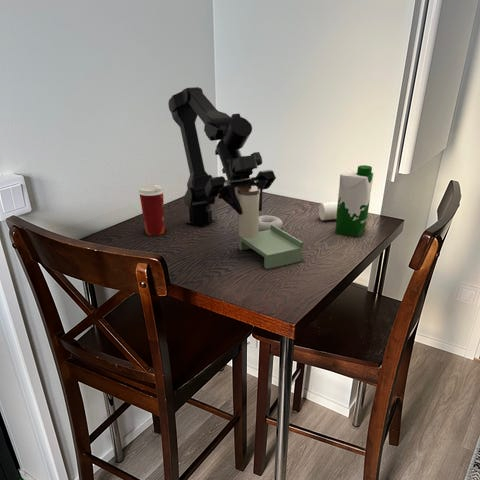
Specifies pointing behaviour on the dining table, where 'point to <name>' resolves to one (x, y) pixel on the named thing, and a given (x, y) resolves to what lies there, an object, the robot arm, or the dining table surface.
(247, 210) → the canister
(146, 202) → the paper cup
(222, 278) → the dining table surface
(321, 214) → the roll
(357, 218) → the milk carton
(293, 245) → the shelf
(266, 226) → the donut
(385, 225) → the dining table surface
